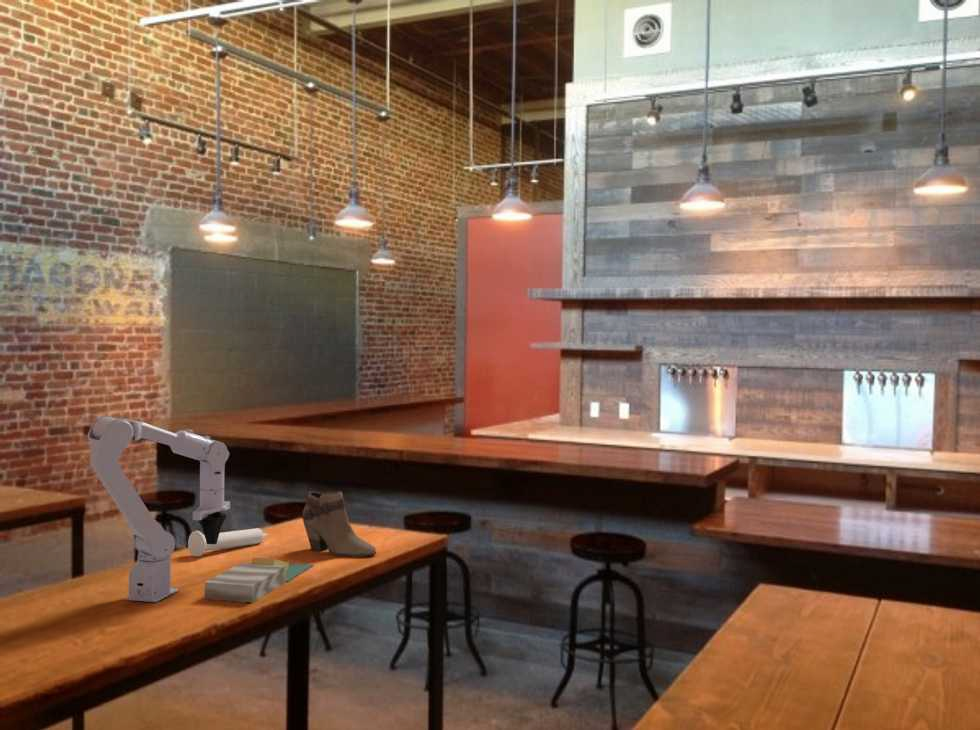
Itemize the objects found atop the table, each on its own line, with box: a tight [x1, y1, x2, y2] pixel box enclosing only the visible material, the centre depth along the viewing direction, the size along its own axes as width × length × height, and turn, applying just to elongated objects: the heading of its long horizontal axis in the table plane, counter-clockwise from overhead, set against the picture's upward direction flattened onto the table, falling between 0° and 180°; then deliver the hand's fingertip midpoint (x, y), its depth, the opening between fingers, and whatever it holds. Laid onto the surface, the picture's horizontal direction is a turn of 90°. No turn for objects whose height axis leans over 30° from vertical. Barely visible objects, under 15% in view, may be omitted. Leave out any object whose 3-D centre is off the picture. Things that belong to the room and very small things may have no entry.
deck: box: [204, 562, 287, 604], centre depth 209 cm, size 18×12×4 cm, turn 169°
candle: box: [187, 527, 268, 558], centre depth 249 cm, size 7×7×25 cm
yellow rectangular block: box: [251, 557, 290, 571], centre depth 222 cm, size 9×6×2 cm, turn 168°
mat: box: [285, 562, 314, 583], centre depth 225 cm, size 16×13×1 cm
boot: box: [301, 491, 377, 558], centre depth 247 cm, size 8×24×17 cm, turn 72°
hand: (211, 543), depth 214 cm, fingers closed
